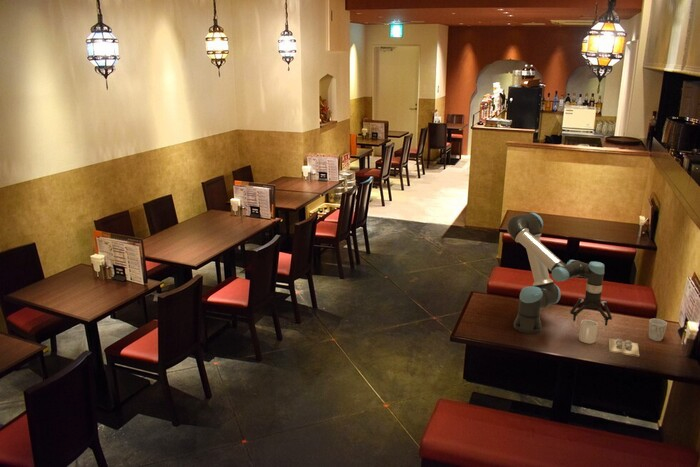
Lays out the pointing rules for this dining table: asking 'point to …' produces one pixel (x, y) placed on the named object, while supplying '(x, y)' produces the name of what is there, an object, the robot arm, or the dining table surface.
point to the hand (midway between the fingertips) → (589, 328)
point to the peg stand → (623, 347)
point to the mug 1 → (588, 331)
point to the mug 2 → (657, 329)
